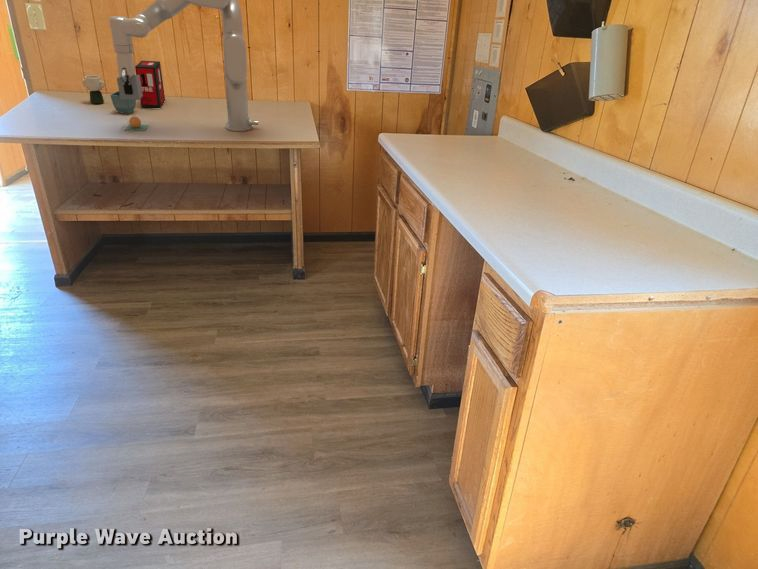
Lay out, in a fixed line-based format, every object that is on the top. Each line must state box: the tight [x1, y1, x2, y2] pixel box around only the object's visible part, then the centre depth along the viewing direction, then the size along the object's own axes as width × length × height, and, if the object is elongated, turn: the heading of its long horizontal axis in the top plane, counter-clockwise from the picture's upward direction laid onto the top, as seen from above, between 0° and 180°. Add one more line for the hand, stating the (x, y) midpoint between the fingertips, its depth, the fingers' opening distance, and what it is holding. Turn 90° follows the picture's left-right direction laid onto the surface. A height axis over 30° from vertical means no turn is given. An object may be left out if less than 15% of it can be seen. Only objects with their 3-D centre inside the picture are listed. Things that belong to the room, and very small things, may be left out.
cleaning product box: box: [134, 60, 166, 109], centre depth 270 cm, size 16×9×20 cm, turn 10°
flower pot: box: [110, 90, 137, 115], centre depth 257 cm, size 9×9×9 cm
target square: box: [123, 123, 150, 132], centre depth 240 cm, size 9×9×1 cm
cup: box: [116, 74, 143, 101], centre depth 231 cm, size 8×8×9 cm
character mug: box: [82, 74, 106, 104], centre depth 266 cm, size 11×7×13 cm, turn 88°
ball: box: [128, 116, 142, 128], centre depth 239 cm, size 5×5×5 cm
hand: (131, 91), depth 232 cm, fingers closed on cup, 7 cm apart
